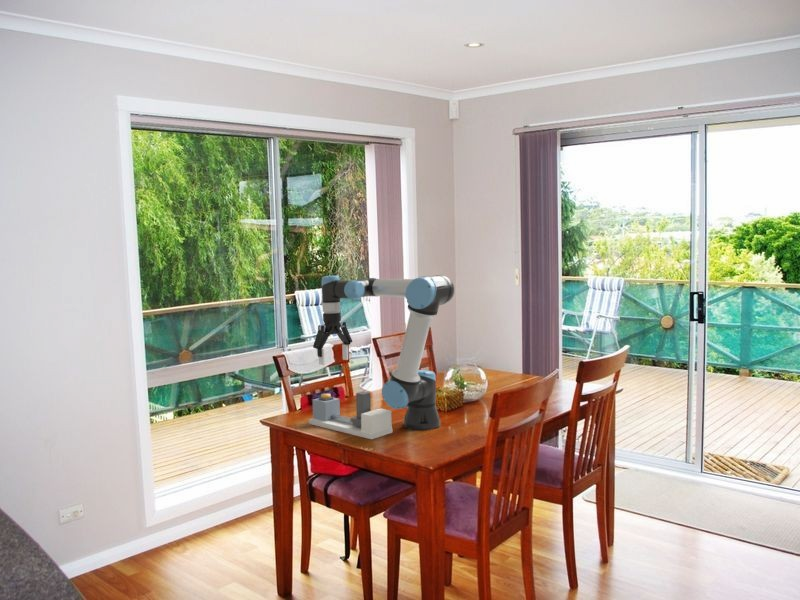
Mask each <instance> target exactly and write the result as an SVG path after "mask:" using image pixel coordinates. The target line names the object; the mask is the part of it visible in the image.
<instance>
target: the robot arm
mask: <svg viewBox="0 0 800 600" xmlns="http://www.w3.org/2000/svg"><path fill="white" fill-rule="evenodd" d="M454 295H455V285H454V283H453V281H452V280H451V279H450V278H449V277H448V276H446V275H443V274H442V275H441V274H436V275H425V276H419V277H417V278H416V277H415V278H376V277H369V278H362V279H352V280H340V276H338V275H324V276H323V275H322V277H321V298H322V300H321V303H322V304H321V305H322V312H323V313H322V321H323V324H322V325H321V324H319V325H318V328H317V332H316V336H315V339H314V342H313V345H312V347H313V348H314V349H316V351H317V355H316V356H317V357H318V364H319V365H321V366H322V365H323V366H325V363H326V362H325V349H324V346H325V344H326V343H327V341H328V339H329V337H330V336H332V335H333V336H334V335H337V337H338V338H339V340H340V341H341V342H342V343H343V344H341V346H342V347H341V349H342V360H343V361H344V360H345V361H348V360H349V352H350V350H349V349H350V346H351V343H353V339H352V337H351V334H350V332H349V329H348V327H347V322H345V321H342V315H341V312H340V311H342V309H341V299H348V300H357V299H361V298H365V297H386V298H387V297H388V298H390V297H391V298H405V299H406V302H407V310H408V311H409V317H408V320H407V325H406V329H405V331H404V332H405V333H404V337H403V341H402V344H401V345H402V346H401V349H400V353H399V357H398V362H397V366H396V368H394V369H393V370H392V371H391V374H390V378H389V380H388V381H386V382H385V383H384V384H383V385H382V389H381V396H382V399H383V400H384V402H385V403H386V405H387V406H388V407H389V408H391V409H393V410H401V409H405V408H406V412H405V415H404V418H403V427H404V428H406V429H410V430H416V431H428V430H434V429H438V428H439V427H441V419H440V415H439V413H438V409H437V405H436V403H437V402H436V401H437V400H436V399H437V398H436V397H437V394H436V393H437V391H436V390H437V389H436V386H437V385H436V384H437V380H436V373H435V372H434V371H433V370H426V369H420V366H421V362H422V359H423V354H424V351H425V346H426V342H427V338H428V335H429V331H430V327H431V323H432V319H433V318H434V317H435V316H437V315H438V313H439V307H440V306H442V305H445V304H447V303H449V302H450V301H451V300H452V299H453V297H454ZM349 345H350V346H349Z"/></svg>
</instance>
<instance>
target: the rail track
mask: <svg viewBox="0 0 800 600" xmlns="http://www.w3.org/2000/svg"><path fill="white" fill-rule="evenodd" d="M308 421H309V425H312V426H316V427H321V428H324V429H328V430H332V431H337V432H340V433H345V434H348V435H353V436H356V437H361V438H365V439H369V440H374V439H377V438H380V437H383V436H386V435H389V434H392V433H393V432H394V431H393V427H392V426H393V425H392V422H393V421H392V410H390V409H385V408H378V409H373V410H371V411H369V412H366V413H362V414H361V427H357V426H353V425H351V424H347V423H342V422H338V421H334V420H329V421H322V420H318V419H314V418H313V417H312V418H310V419H309V420H308Z"/></svg>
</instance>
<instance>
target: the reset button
mask: <svg viewBox="0 0 800 600" xmlns="http://www.w3.org/2000/svg"><path fill="white" fill-rule="evenodd" d="M318 398H319V400H322V401H329V400H333V398H334V396H332V395H331V393H321V395H320V397H318Z"/></svg>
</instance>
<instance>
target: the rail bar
mask: <svg viewBox="0 0 800 600" xmlns="http://www.w3.org/2000/svg"><path fill="white" fill-rule="evenodd" d="M350 418H351V417H348V416H345V415H341V414H340V415H336V414H334V415H331V420H334V421H338V422H342V423H347V424H351V425H353V422H351V419H350Z"/></svg>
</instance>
